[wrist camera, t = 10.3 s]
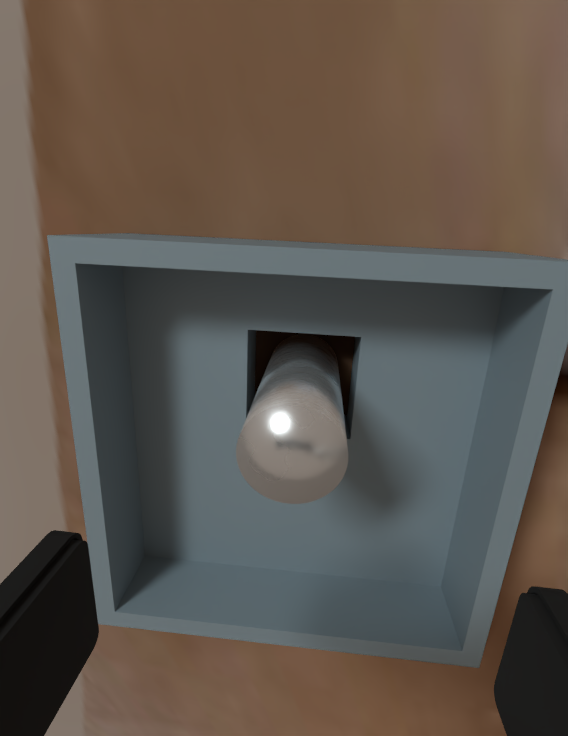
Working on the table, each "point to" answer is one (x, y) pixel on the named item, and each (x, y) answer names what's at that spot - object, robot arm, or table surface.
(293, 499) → the peg
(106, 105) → the table surface
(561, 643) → the robot arm
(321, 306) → the open box
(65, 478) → the table surface
